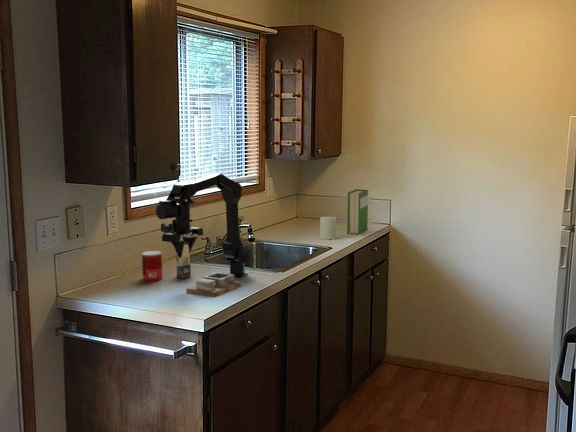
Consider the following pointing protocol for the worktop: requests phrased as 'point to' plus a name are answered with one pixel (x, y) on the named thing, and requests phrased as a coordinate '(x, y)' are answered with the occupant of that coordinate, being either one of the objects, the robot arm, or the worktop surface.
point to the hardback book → (357, 211)
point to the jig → (214, 284)
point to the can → (328, 227)
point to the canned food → (152, 265)
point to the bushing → (184, 255)
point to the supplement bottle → (183, 269)
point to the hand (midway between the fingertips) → (183, 256)
